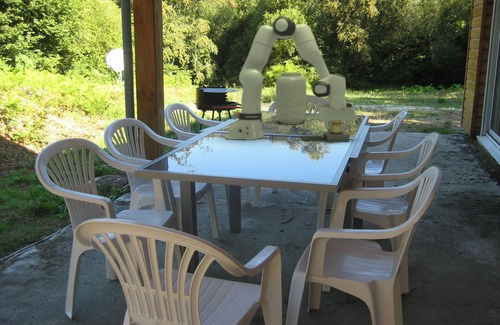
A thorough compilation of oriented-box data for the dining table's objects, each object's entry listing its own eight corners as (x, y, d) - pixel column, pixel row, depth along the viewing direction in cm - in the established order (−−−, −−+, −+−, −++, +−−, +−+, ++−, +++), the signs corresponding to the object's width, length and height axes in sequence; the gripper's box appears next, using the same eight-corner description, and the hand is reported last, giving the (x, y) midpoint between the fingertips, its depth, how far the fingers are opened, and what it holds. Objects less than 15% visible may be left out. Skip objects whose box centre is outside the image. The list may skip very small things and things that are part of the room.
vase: (297, 126, 324) (298, 74, 316) (270, 124, 334) (270, 73, 327) (310, 122, 341) (311, 72, 333) (284, 120, 351) (284, 71, 343)
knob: (331, 141, 271) (332, 121, 268) (329, 139, 277) (329, 119, 274) (342, 141, 271) (343, 120, 269) (340, 139, 277) (340, 119, 274)
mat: (303, 140, 273) (303, 140, 273) (300, 137, 285) (300, 136, 285) (325, 140, 274) (325, 139, 274) (321, 136, 285) (321, 135, 285)
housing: (327, 142, 268) (327, 135, 267) (323, 138, 280) (323, 131, 279) (349, 142, 268) (349, 134, 267) (344, 138, 280) (344, 131, 279)
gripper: (318, 105, 266) (318, 130, 269) (356, 104, 267) (355, 129, 270) (316, 103, 272) (316, 128, 275) (353, 103, 273) (353, 128, 276)
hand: (336, 129), depth 273 cm, fingers open, 8 cm apart
